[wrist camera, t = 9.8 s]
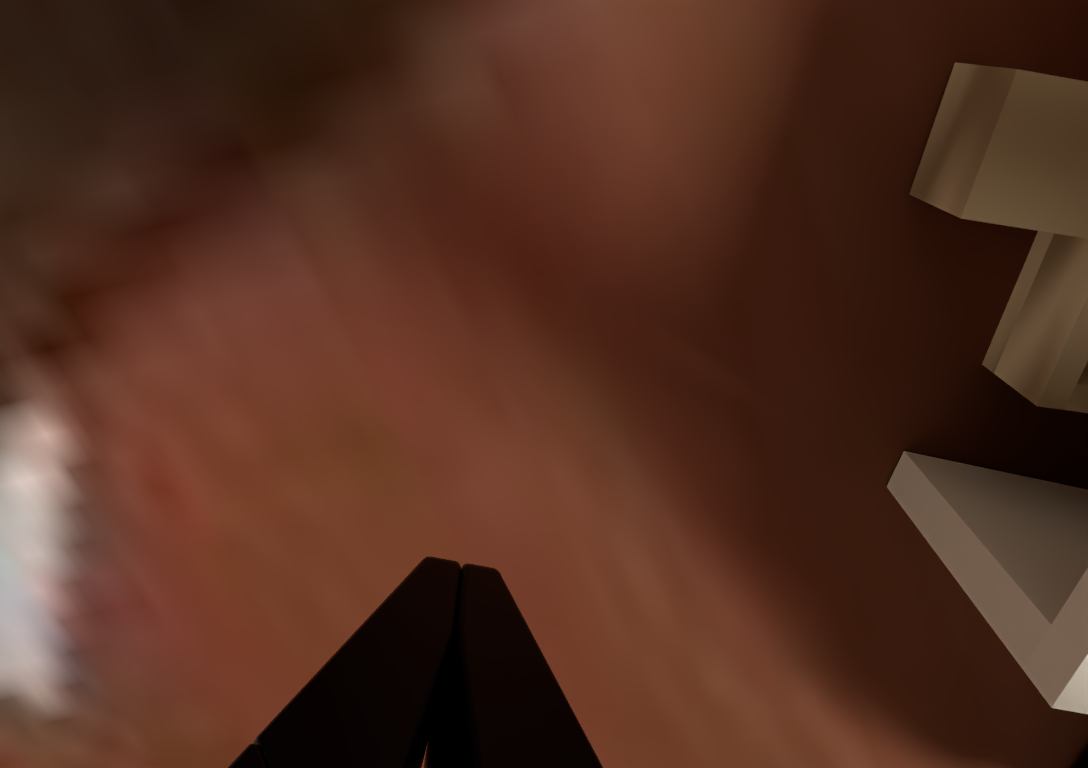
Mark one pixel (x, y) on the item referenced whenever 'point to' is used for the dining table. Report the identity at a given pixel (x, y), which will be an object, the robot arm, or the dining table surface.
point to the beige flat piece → (1023, 213)
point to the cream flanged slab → (1011, 561)
